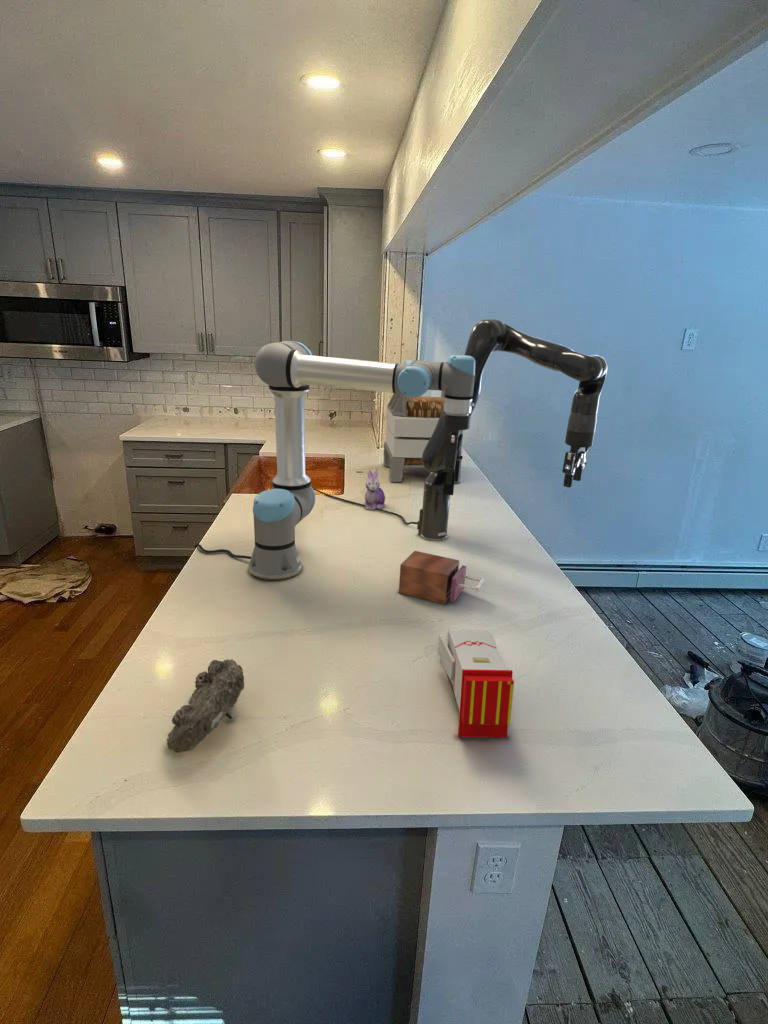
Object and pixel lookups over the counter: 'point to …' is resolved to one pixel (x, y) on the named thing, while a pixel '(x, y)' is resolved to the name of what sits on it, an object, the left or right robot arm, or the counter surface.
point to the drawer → (461, 583)
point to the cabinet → (426, 576)
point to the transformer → (410, 431)
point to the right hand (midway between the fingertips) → (572, 483)
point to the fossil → (206, 705)
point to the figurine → (374, 492)
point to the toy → (478, 682)
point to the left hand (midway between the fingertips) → (450, 487)
